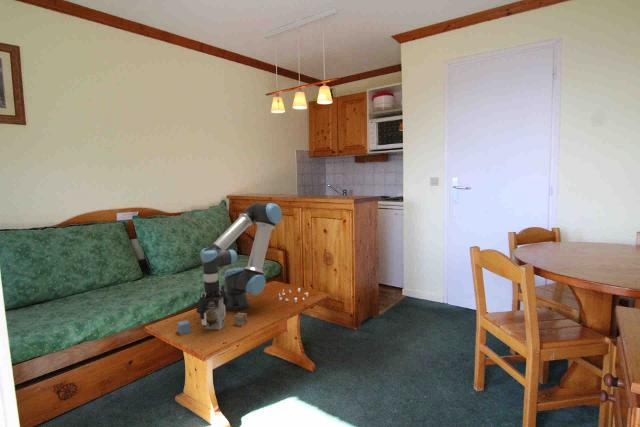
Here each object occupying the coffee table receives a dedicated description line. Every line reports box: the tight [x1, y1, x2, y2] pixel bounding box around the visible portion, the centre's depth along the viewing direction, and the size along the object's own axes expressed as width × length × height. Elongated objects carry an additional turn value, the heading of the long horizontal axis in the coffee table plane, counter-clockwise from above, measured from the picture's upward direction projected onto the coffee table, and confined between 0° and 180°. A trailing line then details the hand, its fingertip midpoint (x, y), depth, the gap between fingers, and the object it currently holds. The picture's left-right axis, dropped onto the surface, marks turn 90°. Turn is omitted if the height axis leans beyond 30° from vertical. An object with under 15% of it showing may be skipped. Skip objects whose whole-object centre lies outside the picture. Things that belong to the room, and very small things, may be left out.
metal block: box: [233, 312, 248, 327], centre depth 198 cm, size 5×5×5 cm
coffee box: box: [203, 295, 225, 330], centre depth 194 cm, size 9×6×16 cm
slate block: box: [176, 319, 192, 336], centre depth 190 cm, size 5×5×5 cm
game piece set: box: [278, 287, 309, 303], centre depth 237 cm, size 19×20×4 cm
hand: (214, 320), depth 194 cm, fingers open, 12 cm apart
